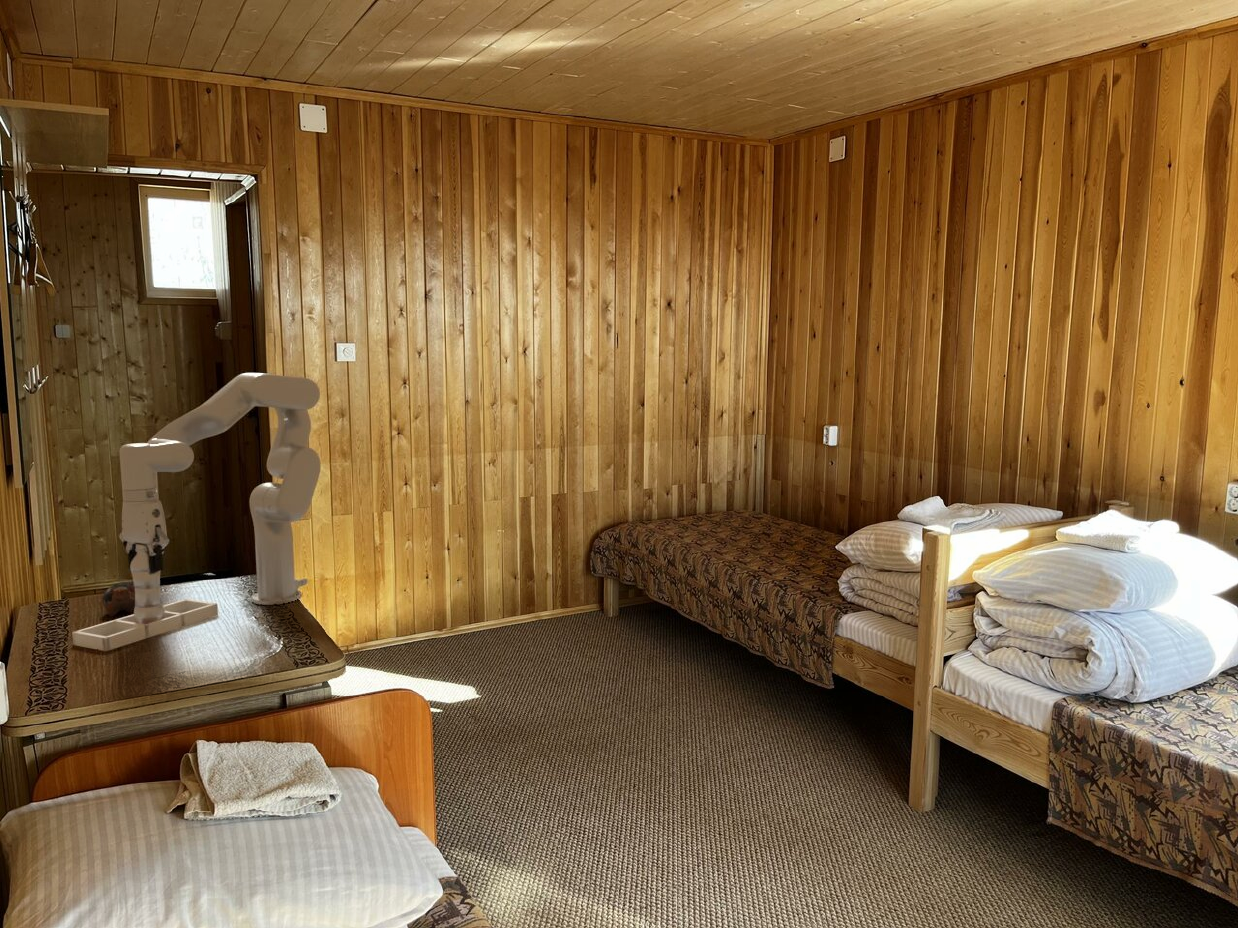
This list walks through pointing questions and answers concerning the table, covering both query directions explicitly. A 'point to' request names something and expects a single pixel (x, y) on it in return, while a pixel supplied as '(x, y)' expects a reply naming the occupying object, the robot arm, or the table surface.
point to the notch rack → (143, 625)
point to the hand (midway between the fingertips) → (146, 569)
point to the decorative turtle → (119, 598)
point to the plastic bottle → (146, 588)
